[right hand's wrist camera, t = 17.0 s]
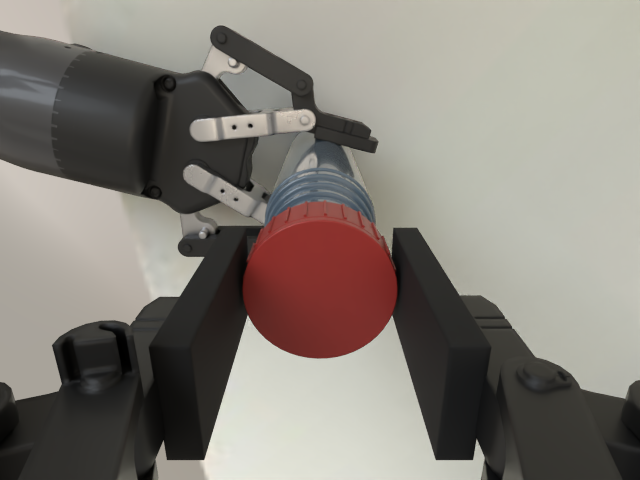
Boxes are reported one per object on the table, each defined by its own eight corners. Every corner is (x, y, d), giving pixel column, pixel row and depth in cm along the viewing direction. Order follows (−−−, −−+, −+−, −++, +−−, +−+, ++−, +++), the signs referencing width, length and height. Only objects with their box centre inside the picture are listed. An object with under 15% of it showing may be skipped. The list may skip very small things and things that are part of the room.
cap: (323, 168, 13) (324, 183, 12) (418, 269, 14) (432, 297, 13) (221, 263, 14) (207, 290, 13) (316, 349, 16) (316, 385, 14)
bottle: (309, 198, 34) (295, 372, 14) (276, 146, 33) (210, 260, 13) (362, 167, 33) (425, 307, 14) (330, 112, 32) (348, 178, 12)
